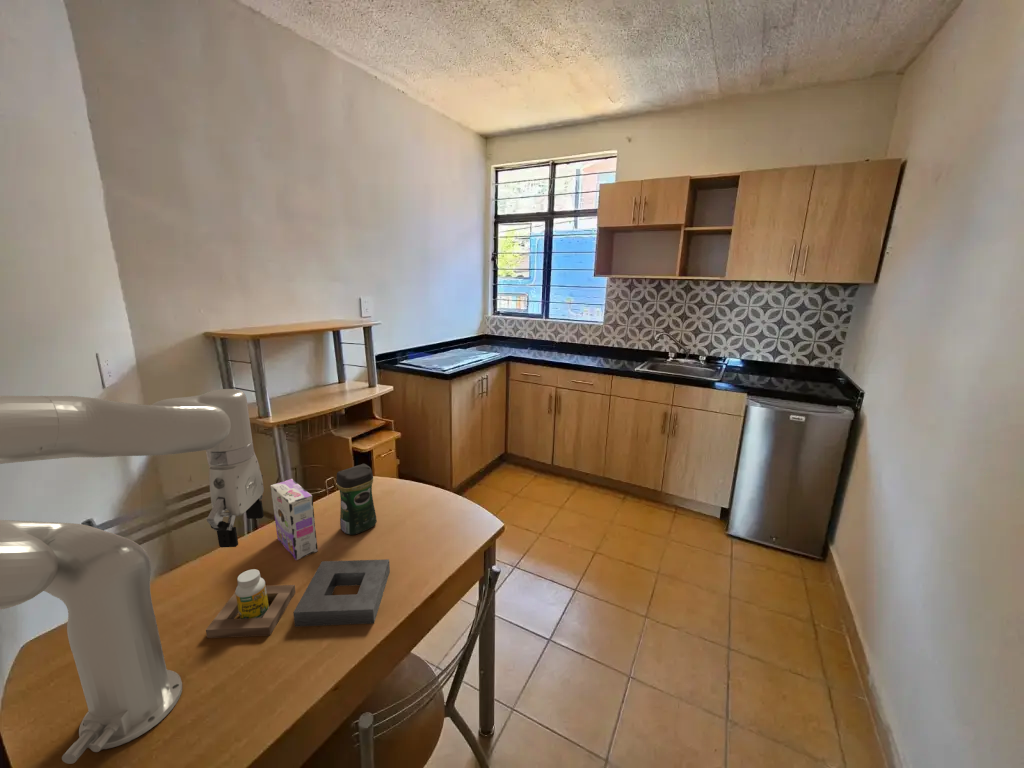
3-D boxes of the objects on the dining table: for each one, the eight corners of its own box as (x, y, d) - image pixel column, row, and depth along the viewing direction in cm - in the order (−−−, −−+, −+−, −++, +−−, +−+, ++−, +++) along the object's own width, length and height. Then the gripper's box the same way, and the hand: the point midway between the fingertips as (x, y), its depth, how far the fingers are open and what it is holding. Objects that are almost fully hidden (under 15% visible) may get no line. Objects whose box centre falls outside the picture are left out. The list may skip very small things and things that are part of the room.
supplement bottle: (268, 600, 92) (262, 563, 90) (270, 616, 88) (264, 578, 86) (239, 610, 89) (233, 572, 87) (239, 627, 85) (233, 587, 83)
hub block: (374, 623, 87) (373, 609, 86) (295, 626, 86) (293, 612, 85) (389, 571, 102) (389, 559, 102) (323, 573, 101) (321, 561, 100)
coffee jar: (367, 515, 127) (363, 458, 122) (380, 525, 122) (377, 467, 117) (336, 528, 120) (330, 468, 115) (349, 539, 115) (344, 478, 110)
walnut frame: (270, 635, 83) (268, 627, 83) (207, 638, 82) (205, 629, 82) (295, 592, 95) (294, 584, 95) (240, 594, 94) (239, 586, 94)
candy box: (319, 551, 109) (313, 495, 106) (295, 561, 105) (288, 503, 101) (298, 530, 119) (292, 477, 115) (276, 538, 114) (269, 484, 110)
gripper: (225, 473, 72) (238, 558, 76) (272, 436, 89) (281, 508, 93) (179, 473, 71) (195, 559, 76) (235, 436, 88) (246, 509, 92)
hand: (243, 531), depth 84 cm, fingers open, 9 cm apart
